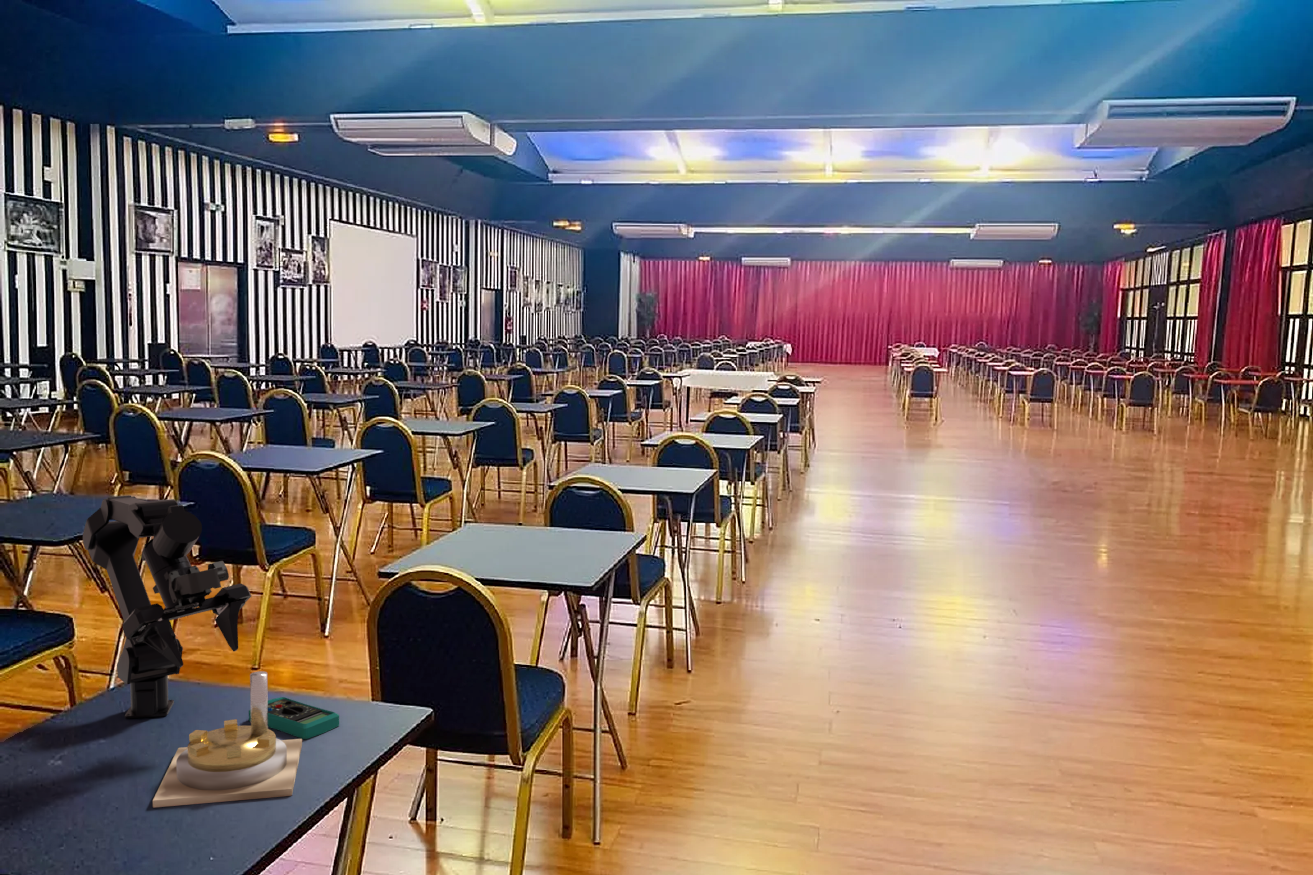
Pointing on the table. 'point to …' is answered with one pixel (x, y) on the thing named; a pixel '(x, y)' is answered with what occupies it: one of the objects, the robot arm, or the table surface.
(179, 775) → the cap housing
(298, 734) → the digital multimeter
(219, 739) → the round base with post
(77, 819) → the table surface
